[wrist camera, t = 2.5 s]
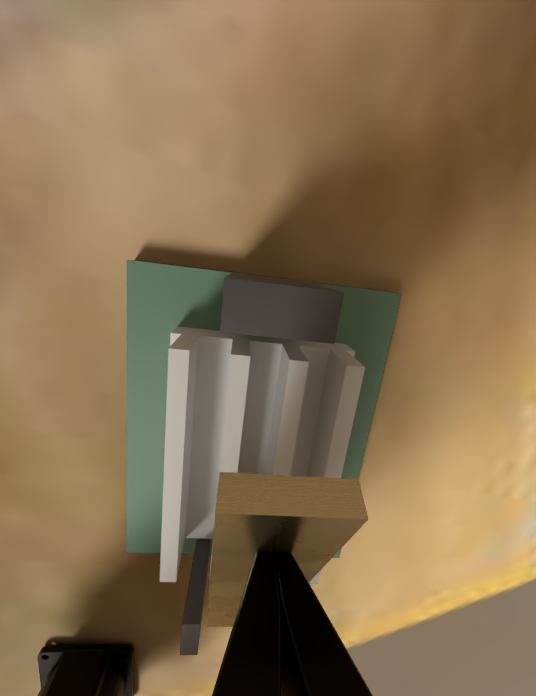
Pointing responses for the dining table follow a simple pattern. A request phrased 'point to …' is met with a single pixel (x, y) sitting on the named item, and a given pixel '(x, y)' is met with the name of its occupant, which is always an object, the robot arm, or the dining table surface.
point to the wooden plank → (276, 529)
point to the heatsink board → (239, 397)
